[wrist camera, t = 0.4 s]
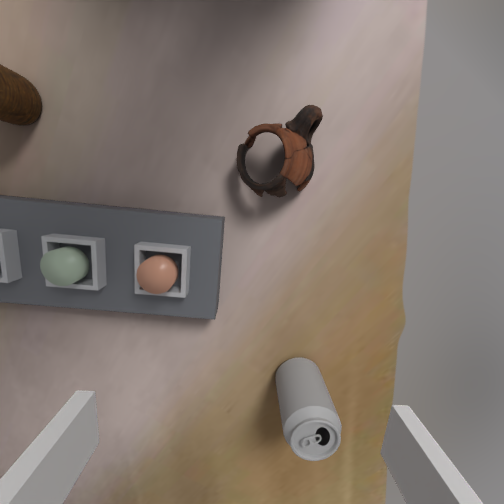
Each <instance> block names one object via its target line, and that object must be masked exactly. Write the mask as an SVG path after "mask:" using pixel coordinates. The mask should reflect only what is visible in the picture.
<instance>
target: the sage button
mask: <svg viewBox="0 0 504 504" xmlns="http://www.w3.org/2000/svg"><path fill="white" fill-rule="evenodd" d="M89 268H90V264H89V260H88V258H87V256H86V255H85V254H84V253H83V252H82V251H81V250H80V249H78V248H75V247H71V246H66V247H62V248H58V249H55V250H52V251H49V252H47V253H46V254H44V256H43V257H42V259H41V262H40V269H41V272H42V274H43V276H44V277H45V278H46V279H47V280H48V281H49V282H51V283H52V284H54V285H58V286H68V285H71V284H73V283H75V282H76V281H78V280H80V279H82V278H84V277H85V276H86V275H87V274H88V272H89Z"/></svg>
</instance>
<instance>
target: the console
mask: <svg viewBox="0 0 504 504" xmlns="http://www.w3.org/2000/svg"><path fill="white" fill-rule="evenodd" d="M224 221H225V217H220V216H210V215H199V214H189V213H179V212H168V211H158V210H148V209H138V208H127V207H117V206H107V205H97V204H86V203H76V202H66V201H55V200H45V199H35V198H25V197H14V196H4V195H0V302H5V303H17V304H30V305H42V306H55V307H67V308H79V309H92V310H104V311H117V312H129V313H142V314H154V315H167V316H179V317H191V318H204V319H215V317H216V313H217V309H218V302H219V289H220V275H221V261H222V248H223V234H224ZM66 246H71V247H75V248H78V249H80V250H81V251H82V252H83V253H84V254H85V255H86V256H87V258H88V260H89V264H90V268H89V272H88V274H87V275H86V276H85V277H84V278H82V279H80V280H78V281H76V282H75V283H73V284H71V285H68V286H58V285H54V284H52V283H51V282H49V281H48V280H47V279H46V278H45V277H44V276H43V274H42V272H41V269H40V262H41V259H42V257H43V256H44V254H46V253H47V252H49V251H52V250H55V249H58V248H62V247H66ZM154 255H166V256H168V257H170V258H171V259H173V260H174V262H175V263H176V264H177V267H178V270H179V274H178V278H177V280H176V282H175V283H174V284H173V285H172V287H171V288H170V289H169V290H168V291H166V292H164V293H161V294H152V293H149V292H147V291H145V290H144V289H143V288H142V287H141V286H140V285H139V283H138V281H137V276H136V274H137V269H138V267H139V266H140V264H141V263H142V262H144V261H145V260H147V259H148V258H150V257H152V256H154Z"/></svg>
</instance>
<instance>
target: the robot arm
mask: <svg viewBox="0 0 504 504" xmlns="http://www.w3.org/2000/svg"><path fill="white" fill-rule="evenodd" d="M98 444H99V431H98V419H97V407H96V394H95V391H80V390H77V391H76V392H75V393H74V395H73V396H72V397H71V398H70V399H69V400H68V401H67V403H66V404H65V405H64V406H63V407H62V408H61V410H60V411H59V412H58V413H57V414H56V415H55V417H54V418H53V419H52V420H51V421H50V422H49V423H48V425H47V426H46V427H45V428H44V429H43V430H42V432H41V433H40V434H39V435H38V436H37V437H36V438H35V440H34V441H33V442H32V443H31V444H30V445H29V447H28V448H27V449H26V450H25V451H24V452H23V454H22V455H21V456H20V457H19V458H18V459H17V460H16V462H15V463H14V464H13V465H12V466H11V467H10V469H9V470H8V471H7V472H6V473H5V474H4V476H3V477H2V478H1V479H0V504H63V503H64V501H65V499H66V498H67V496H68V494H69V492H70V491H71V489H72V487H73V486H74V484H75V482H76V481H77V479H78V477H79V476H80V474H81V472H82V471H83V469H84V467H85V466H86V464H87V462H88V461H89V459H90V457H91V455H92V454H93V452H94V450H95V449H96V447H97V445H98ZM381 455H382V457H383V459H384V461H385V463H386V465H387V467H388V469H389V471H390V473H391V474H392V477H393V478H394V480H395V482H396V484H397V486H398V488H399V490H400V492H401V494H402V496H403V498H404V500H405V502H406V504H483V503H482V501H481V500H480V499H479V497H478V496H477V495H476V494H475V493H474V491H473V490H472V488H471V487H470V486H469V484H468V483H467V482H466V480H465V479H464V478H463V476H462V475H461V474H460V472H459V471H458V470H457V469H456V467H455V466H454V465H453V463H452V462H451V461H450V459H449V458H448V457H447V456H446V454H445V453H444V451H443V450H442V449H441V448H440V446H439V445H438V444H437V442H436V441H435V440H434V438H433V437H432V436H431V435H430V433H429V432H428V431H427V429H426V428H425V426H424V425H423V424H422V423H421V421H420V420H419V419H418V417H417V416H416V415H415V414H414V412H413V411H412V409H411V408H410V407H409V406H404V405H392V407H391V412H390V416H389V420H388V424H387V428H386V432H385V436H384V441H383V445H382V449H381Z"/></svg>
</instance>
